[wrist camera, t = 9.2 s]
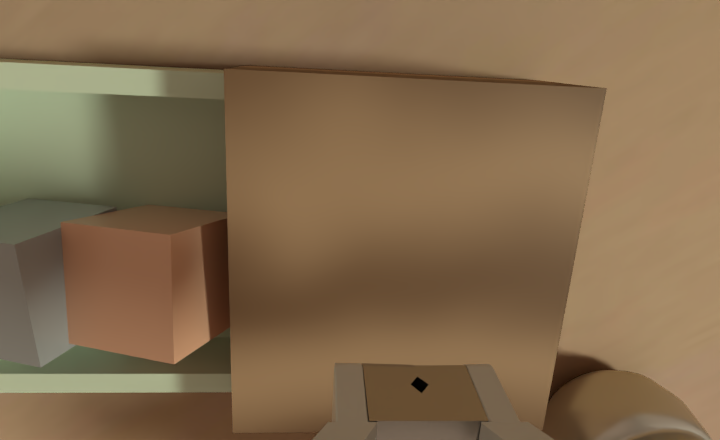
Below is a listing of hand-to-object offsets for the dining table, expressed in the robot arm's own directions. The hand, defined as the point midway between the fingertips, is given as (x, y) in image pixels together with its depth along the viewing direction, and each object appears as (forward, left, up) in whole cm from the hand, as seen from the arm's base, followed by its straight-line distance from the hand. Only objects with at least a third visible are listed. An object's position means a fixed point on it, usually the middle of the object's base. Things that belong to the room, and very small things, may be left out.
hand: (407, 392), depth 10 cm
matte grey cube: (+1, -9, -8) cm, 12 cm away
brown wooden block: (0, +1, -12) cm, 12 cm away
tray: (0, -10, -12) cm, 15 cm away
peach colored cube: (+1, -9, -9) cm, 13 cm away
